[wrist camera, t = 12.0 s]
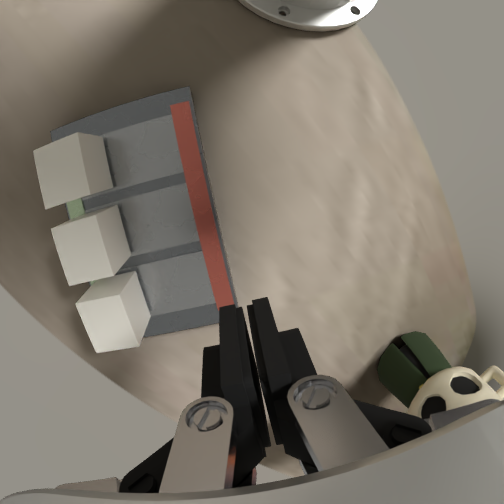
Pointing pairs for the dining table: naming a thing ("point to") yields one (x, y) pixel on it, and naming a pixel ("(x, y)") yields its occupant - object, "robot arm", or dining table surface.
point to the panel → (162, 208)
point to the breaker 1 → (72, 168)
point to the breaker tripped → (114, 312)
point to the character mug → (433, 378)
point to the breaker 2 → (92, 245)
